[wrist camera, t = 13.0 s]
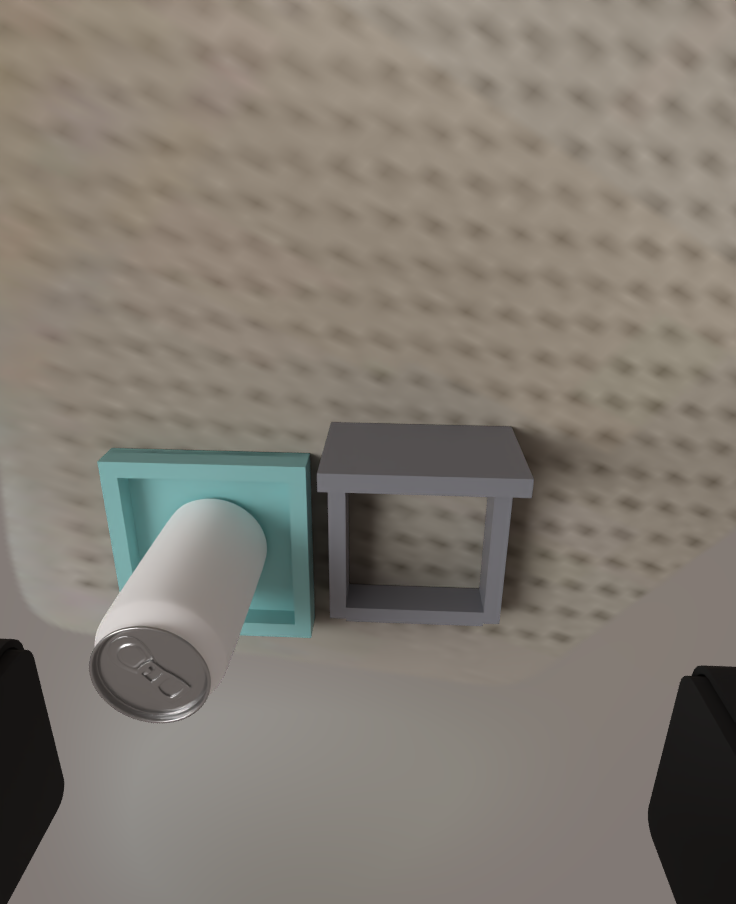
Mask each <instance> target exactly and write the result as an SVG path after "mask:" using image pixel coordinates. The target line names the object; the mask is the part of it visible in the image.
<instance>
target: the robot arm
mask: <svg viewBox="0 0 736 904" xmlns="http://www.w3.org/2000/svg"><path fill="white" fill-rule="evenodd" d="M63 792H64V778H63V774H62V770H61V766H60V762H59V758H58V754H57V750H56V746H55V742H54V737H53V733H52V730H51V725H50V721H49V717H48V713H47V709H46V705H45V701H44V697H43V693H42V689H41V684H40V681H39V676H38V672H37V668H36V664H35V660H34V657H33V654H32V653H31V652H30V651H29V650H24V648H23V645H22V644H21V643H20V642H19V641H18V640H15V639H0V904H7V903H8V901H9V899H10V897H11V896H12V894H13V892H14V890H15V888H16V886H17V884H18V882H19V881H20V879H21V877H22V875H23V873H24V871H25V870H26V868H27V866H28V864H29V862H30V860H31V858H32V856H33V855H34V853H35V851H36V849H37V847H38V845H39V844H40V842H41V840H42V838H43V836H44V834H45V832H46V830H47V829H48V827H49V825H50V823H51V821H52V819H53V817H54V816H55V814H56V812H57V810H58V808H59V806H60V804H61V800H62V797H63ZM648 822H649V828H650V832H651V836H652V839H653V842H654V845H655V847H656V850H657V853H658V855H659V858H660V861H661V863H662V866H663V869H664V871H665V874H666V877H667V879H668V882H669V885H670V887H671V890H672V893H673V895H674V898H675V901H676V903H677V904H736V667H725V666H697V667H696V668H695V669H694V671H693V674H692V676H684V677H683V678H682V679H681V682H680V685H679V689H678V693H677V697H676V701H675V705H674V709H673V713H672V716H671V720H670V725H669V728H668V732H667V736H666V740H665V744H664V748H663V753H662V756H661V760H660V764H659V768H658V772H657V776H656V780H655V784H654V788H653V792H652V796H651V800H650V804H649V808H648Z"/></svg>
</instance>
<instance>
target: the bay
mask: <svg viewBox="0 0 736 904" xmlns="http://www.w3.org/2000/svg"><path fill="white" fill-rule="evenodd" d="M533 483H534V478H533V476H532V474H531V471H530V469H529V467H528V464H527V462H526V460H525V457H524V455H523V453H522V450H521V448H520V446H519V443H518V441H517V439H516V436H515V434H514V431H513V429H512V427H508V426H466V425H424V424H383V423H341V422H331V425H330V428H329V432H328V436H327V439H326V443H325V446H324V450H323V453H322V457H321V461H320V464H319V468H318V471H317V492H328V534H329V587H330V618H346V621H356V622H383V623H411V624H438V625H466V626H483V623H484V624H499V621H500V612H501V602H502V593H503V584H504V574H505V565H506V556H507V546H508V537H509V528H510V518H511V509H512V500H513V498H532V492H533ZM349 493H371V494H407V495H442V496H477V497H487V509H486V520H485V531H484V542H483V553H482V564H481V575H480V587H479V589H475V588H446V587H417V586H387V585H358V584H349Z"/></svg>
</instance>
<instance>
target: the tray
mask: <svg viewBox="0 0 736 904" xmlns="http://www.w3.org/2000/svg"><path fill="white" fill-rule="evenodd" d="M98 468H99V474H100V480H101V486H102V491H103V497H104V503H105V509H106V515H107V521H108V526H109V532H110V538H111V544H112V550H113V556H114V561H115V567H116V573H117V579H118V585H119V591H121V590H122V588H123V587H124V585H125V584H126V582H127V581H128V579H129V578H130V577H131V575H132V574H133V572H134V571H135V569H136V568H137V566H138V565H139V563H140V562H141V560H142V559H143V557H144V556H145V554H146V553H147V551H148V550H149V548H150V547H151V545H152V544H153V542H154V541H155V539H156V538H157V537H158V535H159V534H160V532H161V531H162V529H163V528H164V526H165V525H166V523H167V522H168V521H169V519H170V518H171V517H172V515H173V514H174V513H175V512H176V511H177V510H178V509H179V508H180V507H181V506H183V505H184V504H186V503H189V502H191V501H195V500H200V499H220V500H224V501H228V502H231V503H233V504H236V505H238V506H240V507H241V508H243V509H244V510H246V511H247V512H248V513H250V514H251V515H252V516H253V517H254V518H255V519H256V521H257V522H258V523H259V525H260V526H261V528H262V530H263V532H264V535H265V538H266V543H267V554H266V559H265V563H264V566H263V569H262V572H261V575H260V578H259V581H258V584H257V587H256V590H255V592H254V595H253V598H252V601H251V604H250V607H249V610H248V613H247V615H246V618H245V621H244V624H243V627H242V630H241V632H240V635H248V636H275V637H302V638H311V636H312V631H313V625H314V620H315V605H314V571H313V538H312V505H311V472H310V453H282V452H243V451H205V450H166V449H128V448H111V449H110V450H109V451H108V452H107V453H106V454H105V455H104V456H103V457H102V458H101V459H100V460H99V461H98Z"/></svg>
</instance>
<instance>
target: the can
mask: <svg viewBox="0 0 736 904" xmlns="http://www.w3.org/2000/svg"><path fill="white" fill-rule="evenodd" d="M266 554H267V543H266V538H265V535H264V532H263V530H262V528H261V526H260V525H259V523H258V522H257V521H256V519H255V518H254V517H253V516H252V515H251V514H250V513H248V512H247V511H246V510H244V509H243V508H241V507H240V506H238V505H236V504H233V503H231V502H228V501H224V500H220V499H200V500H195V501H191V502H189V503H186V504H184V505H183V506H181V507H180V508H179V509H178V510H177V511H176V512H175V513H174V514H173V515H172V517H171V518H170V519H169V521H168V522H167V523H166V525H165V526H164V528H163V529H162V531H161V532H160V534H159V535H158V537H157V538H156V539H155V541H154V542H153V544H152V545H151V547H150V548H149V550H148V551H147V553H146V554H145V556H144V557H143V559H142V560H141V562H140V563H139V565H138V566H137V568H136V569H135V571H134V572H133V574H132V575H131V577H130V578H129V579H128V581H127V582H126V584H125V585H124V587H123V588H122V590H121V591H120V593H119V594H118V596H117V597H116V599H115V601H114V602H113V604H112V605H111V607H110V608H109V610H108V611H107V613H106V614H105V616H104V618H103V619H102V621H101V623H100V625H99V627H98V630H97V633H96V637H95V648H94V650H93V651H92V654H91V657H90V661H89V672H90V677H91V680H92V683H93V685H94V687H95V689H96V691H97V692H98V693H99V695H100V696H101V697H102V698H103V699H104V700H105V701H106V702H107V703H108V704H109V705H110V706H111V707H113V708H114V709H115V710H117V711H119V712H120V713H122V714H124V715H126V716H128V717H131V718H133V719H137V720H140V721H145V722H151V723H170V722H175V721H179V720H182V719H185V718H187V717H189V716H191V715H192V714H194V713H195V712H197V711H198V710H199V709H200V708H201V707H202V706H203V704H204V703H205V702H206V700H207V698H208V696H209V695H210V694H211V693H212V692H213V691H214V690H215V689H216V688H217V687H218V685H219V684H220V683H221V680H222V679H223V677H224V675H225V673H226V670H227V668H228V666H229V663H230V660H231V658H232V655H233V652H234V649H235V647H236V644H237V641H238V638H239V635H240V632H241V630H242V627H243V624H244V621H245V618H246V615H247V613H248V610H249V607H250V604H251V601H252V598H253V595H254V592H255V590H256V587H257V584H258V581H259V578H260V575H261V572H262V569H263V566H264V563H265V559H266Z"/></svg>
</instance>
